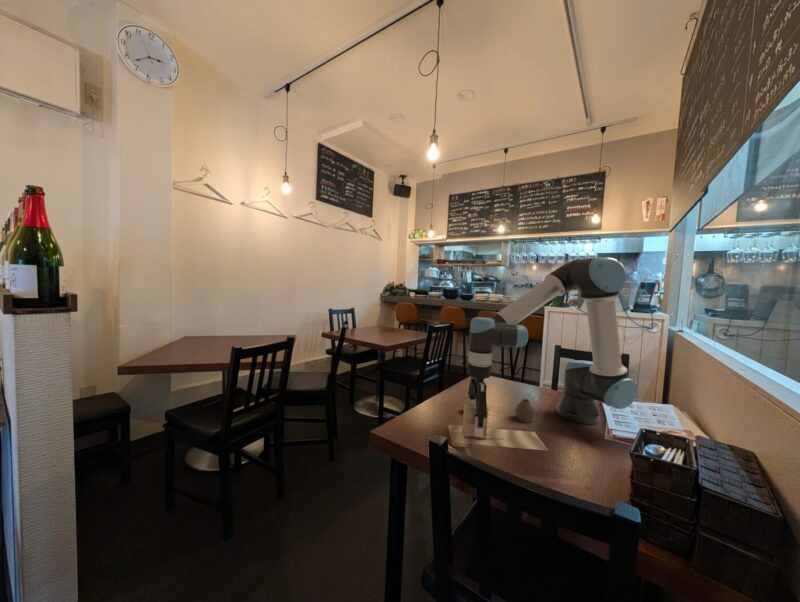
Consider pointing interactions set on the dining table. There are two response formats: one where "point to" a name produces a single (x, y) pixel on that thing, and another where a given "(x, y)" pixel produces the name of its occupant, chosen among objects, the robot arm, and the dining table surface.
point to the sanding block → (471, 421)
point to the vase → (524, 411)
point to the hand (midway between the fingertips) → (474, 426)
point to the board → (498, 439)
